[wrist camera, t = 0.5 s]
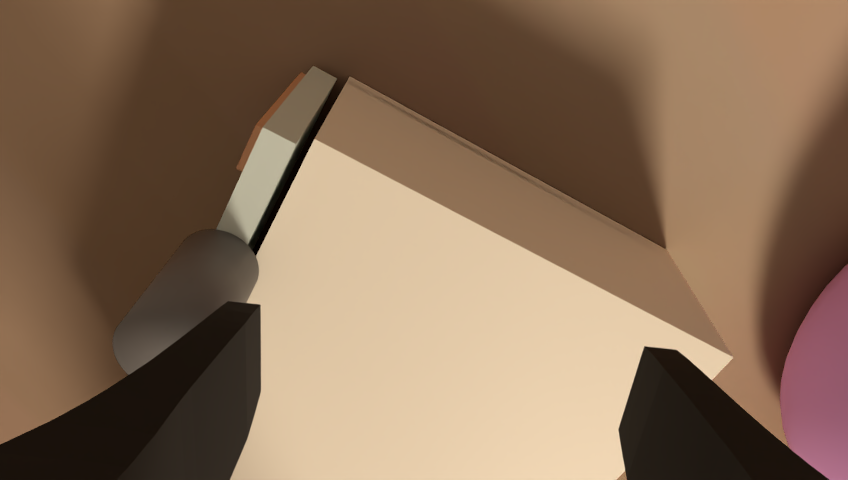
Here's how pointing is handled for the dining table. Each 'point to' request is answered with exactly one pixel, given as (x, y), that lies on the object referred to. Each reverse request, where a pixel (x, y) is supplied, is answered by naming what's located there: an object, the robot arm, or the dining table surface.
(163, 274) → the flap
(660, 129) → the dining table surface
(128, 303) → the dining table surface
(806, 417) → the teapot
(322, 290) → the carton
